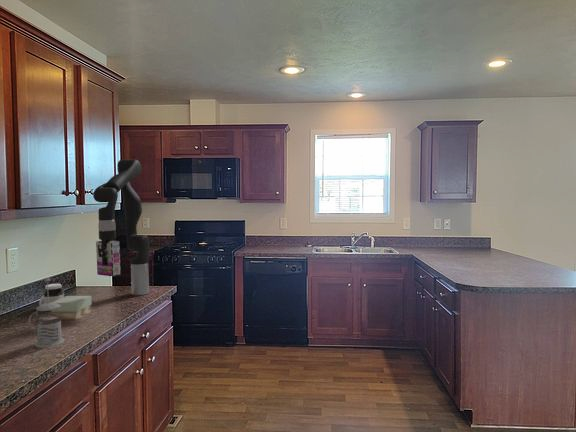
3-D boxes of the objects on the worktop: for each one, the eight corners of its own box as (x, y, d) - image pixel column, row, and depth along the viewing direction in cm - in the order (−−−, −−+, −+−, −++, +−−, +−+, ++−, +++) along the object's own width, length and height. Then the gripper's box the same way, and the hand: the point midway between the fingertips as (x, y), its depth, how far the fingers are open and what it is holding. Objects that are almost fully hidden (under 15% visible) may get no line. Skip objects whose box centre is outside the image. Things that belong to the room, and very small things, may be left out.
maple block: (67, 312, 193) (67, 304, 193) (91, 312, 192) (90, 304, 192) (50, 320, 181) (50, 311, 181) (75, 320, 180) (75, 311, 180)
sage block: (67, 303, 193) (67, 295, 193) (91, 304, 192) (91, 295, 192) (51, 311, 181) (51, 302, 181) (77, 311, 180) (76, 302, 180)
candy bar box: (121, 274, 192) (120, 240, 191) (112, 276, 188) (111, 242, 187) (105, 272, 197) (104, 239, 196) (96, 274, 193) (95, 241, 192)
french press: (61, 345, 149) (58, 279, 147) (25, 349, 146) (22, 281, 144) (67, 336, 158) (65, 274, 157) (34, 340, 155) (31, 276, 153)
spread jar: (58, 310, 194) (57, 287, 193) (33, 312, 192) (32, 288, 192) (68, 304, 206) (67, 281, 205) (44, 305, 204) (43, 282, 203)
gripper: (107, 228, 199) (108, 261, 200) (91, 231, 184) (92, 267, 185) (122, 227, 198) (123, 261, 199) (106, 231, 184) (108, 267, 185)
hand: (108, 263), depth 192 cm, fingers closed on candy bar box, 6 cm apart
